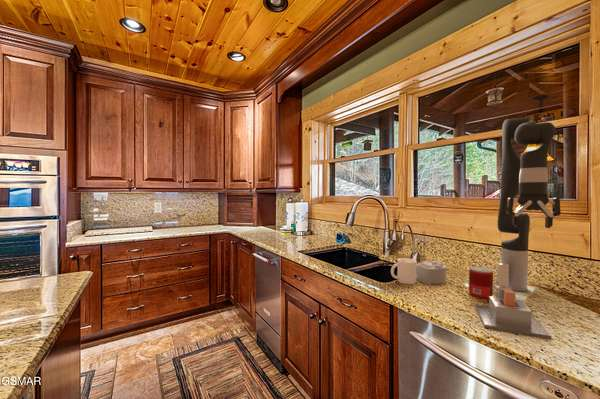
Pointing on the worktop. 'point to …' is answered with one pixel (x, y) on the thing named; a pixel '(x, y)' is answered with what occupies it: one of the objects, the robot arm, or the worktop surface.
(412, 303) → the worktop surface
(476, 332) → the worktop surface
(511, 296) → the stepped block
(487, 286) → the canned food
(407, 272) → the mug
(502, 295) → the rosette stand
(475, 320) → the worktop surface
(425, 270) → the lumpy-topped squat cylinder
